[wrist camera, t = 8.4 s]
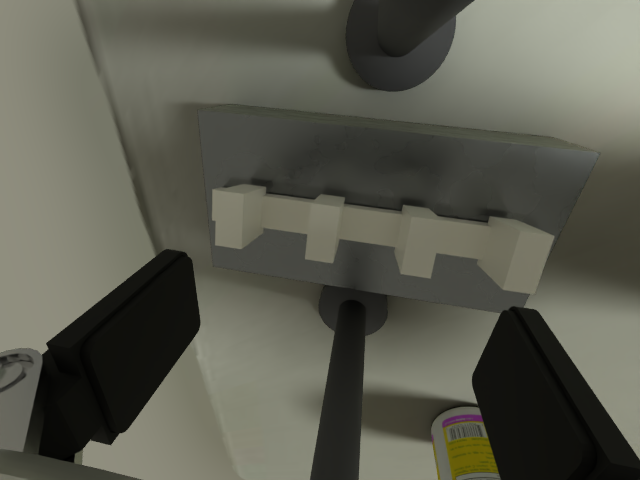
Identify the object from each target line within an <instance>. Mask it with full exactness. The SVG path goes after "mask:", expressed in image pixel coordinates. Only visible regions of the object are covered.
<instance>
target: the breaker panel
mask: <svg viewBox="0 0 640 480" xmlns="http://www.w3.org/2000/svg"><path fill="white" fill-rule="evenodd" d="M197 111H198V121H199V131H200V141H201V151H202V161H203V171H204V181H205V191H206V201H207V211H208V221H209V231H210V241H211V251H212V261H213V267H219V268H226V269H232V270H238V271H244V272H250V273H256V274H263V275H269V276H275V277H281V278H287V279H293V280H300V281H306V282H312V283H318V284H324V285H330V286H337V287H343V288H349V289H355V290H361V291H367V292H373V293H380V294H386V295H392V296H398V297H404V298H410V299H417V300H423V301H429V302H435V303H441V304H447V305H454V306H460V307H466V308H472V309H478V310H484V311H491V312H497V313H502V311H503V310H508V309H509V308H510V307H512V306H516V307H522V308H523V307H524V305H525V303H526V301H527V299H528V297H529V295H530V294H527V293H520V292H514V291H508V290H503V289H502V288H501V287H499V286H498V285H497V284H496V283H495V282H494V281H493V280H492V279H491V278H490V277H489V276H488V275H487V274H486V273H485V272H484V271H483V270H482V269H481V268H480V267H479V266H478V265H477V261H478V259H473V258H466V257H460V256H453V255H446V254H439V253H436V257H435V261H434V266H433V270H432V274H431V279H430V278H423V277H417V276H411V275H404V274H400V270H399V267H398V264H397V260H396V257H395V253H394V250H395V247H391V246H384V245H377V244H371V243H364V242H357V241H350V240H343V239H339V245H338V248H337V252H336V255H335V258H334V262H333V263H326V262H320V261H314V260H307V259H305V253H306V244H307V234H302V233H295V232H288V231H281V230H275V229H268V228H264V230H263V233H262V234H261V235H260V236H258V237H257V238H256V239H254V240H253V241H252V242H250V243H249V244H248V245H247V246H245V247H244V248H243V249H236V248H229V247H223V246H217V245H215V225H216V221H213V220H212V189H216V188H220V187H223V188H228V187H232V186H237V185H241V184H248V185H256V186H263V187H266V193H268V194H275V195H283V196H290V197H298V198H305V199H313V200H315V199H316V198H317V197H318V196H319V195H320V194H324V195H332V196H339V197H345V202H344V204H350V205H358V206H365V207H373V208H380V209H387V210H395V211H402V207H403V205H408V206H415V207H423V208H429V209H430V210H431V211H432V212H434V213H435V214H436V215H437V216H440V217H447V218H455V219H462V220H470V221H477V222H485V223H488V221H489V217H490V216H492V217H499V218H507V219H514V220H518V221H521V222H523V223H525V224H528V225H530V226H532V227H535V228H537V229H539V230H542V231H544V232H546V233H549V234H551V235H553V236H554V239H553V242H552V245H551V248H550V251H549V254H548V257H549V255H550V253H551V251H552V249H553V247H554V245H555V243H556V241H557V239H558V237H559V235H560V233H561V231H562V229H563V227H564V225H565V223H566V221H567V219H568V217H569V215H570V213H571V211H572V209H573V207H574V205H575V203H576V201H577V199H578V197H579V195H580V193H581V191H582V189H583V187H584V185H585V183H586V181H587V179H588V177H589V175H590V173H591V171H592V169H593V167H594V165H595V163H596V161H597V159H598V157H599V155H600V153H599V152H596V151H593V150H590V149H587V148H584V147H581V146H578V145H575V144H572V143H569V142H566V141H563V140H560V139H557V138H554V137H545V136H536V135H526V134H516V133H507V132H497V131H487V130H478V129H468V128H458V127H449V126H439V125H429V124H420V123H410V122H400V121H391V120H381V119H371V118H362V117H352V116H342V115H333V114H323V113H313V112H304V111H294V110H284V109H275V108H265V107H255V106H246V105H236V104H229V105H223V106H217V107H211V108H205V109H199V110H197ZM548 257H547V259H548ZM546 261H547V260H546Z"/></svg>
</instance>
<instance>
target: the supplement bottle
mask: <svg viewBox="0 0 640 480" xmlns="http://www.w3.org/2000/svg"><path fill="white" fill-rule="evenodd" d="M431 436H432V444H433V450H434V456H435V462H436V468H437V475H438V480H501V479H500V476H499V472H498V469H497V466H496V462H495V459H494V456H493V452H492V449H491V446H490V442H489V439H488V436H487V433H486V429H485V426H484V423H483V419H482V416H481V413H480V409H479V408H477V407H458V408H453V409H450V410H447V411H445V412H443V413H442V414H440V415H439V416H438V417H437V418H436V419H435V420H434V422H433V424H432V427H431Z"/></svg>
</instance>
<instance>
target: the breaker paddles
mask: <svg viewBox="0 0 640 480" xmlns="http://www.w3.org/2000/svg"><path fill="white" fill-rule="evenodd" d="M344 202H345V197H339V196H332V195H324V194H320V195H319V196H318V197H317V198H316V199H315V200H313V199H305V198H298V197H290V196H283V195H275V194H268V193H266V187H263V186H256V185H248V184H241V185H237V186H232V187H228V188H223V187H220V188H216V189H212V220H213V221H216V225H215V245H217V246H223V247H229V248H236V249H243V248H244V247H245V246H247V245H248V244H249V243H250V242H252V241H253V240H254V239H256V238H257V237H258V236H260V235H261V234H262V233H263V230H264V228H268V229H275V230H281V231H288V232H295V233H302V234H307V244H306V253H305V259H307V260H314V261H320V262H326V263H333V262H334V258H335V255H336V252H337V248H338V245H339V239H343V240H350V241H357V242H364V243H371V244H377V245H384V246H391V247H395V250H394V253H395V257H396V260H397V264H398V267H399V270H400V274H404V275H411V276H417V277H423V278H430V279H431V274H432V270H433V266H434V261H435V257H436V253H439V254H446V255H453V256H460V257H466V258H473V259H478V261H477V265H478V266H479V267H480V268H481V269H482V270H483V271H484V272H485V273H486V274H487V275H488V276H489V277H490V278H491V279H492V280H493V281H494V282H495V283H496V284H497V285H498V286H499V287H501V288H502V289H503V290H508V291H514V292H520V293H527V294H533V295H535V293H536V290H537V287H538V284H539V281H540V278H541V275H542V272H543V269H544V266H545V263H546V260H547V257H548V254H549V251H550V248H551V245H552V242H553V239H554V236H553V235H551V234H549V233H546V232H544V231H542V230H539V229H537V228H535V227H532V226H530V225H528V224H525V223H523V222H521V221H518V220H514V219H507V218H499V217H492V216H490V217H489V221H488V223H485V222H477V221H470V220H462V219H455V218H447V217H440V216H437V215H436V214H435V213H434V212H432V211H431V210H430V209H429V208H423V207H415V206H408V205H403V207H402V211H395V210H387V209H380V208H373V207H365V206H358V205H350V204H344Z"/></svg>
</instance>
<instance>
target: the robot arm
mask: <svg viewBox="0 0 640 480" xmlns="http://www.w3.org/2000/svg"><path fill="white" fill-rule="evenodd" d="M199 328H200V315H199V307H198V300H197V293H196V285H195V278H194V271H193V263H192V259H191V258H189V257H188V255H187V254H186V253H185V252H182V251H176V250H170V249H166V250H164V251H162V252H161V253H160V254H159V255H157V256H156V257H155V258H153V259H152V260H151V261H150V262H148V263H147V264H146V265H145V266H143V267H142V268H141V269H140V270H138V271H137V272H136V273H134V274H133V275H132V276H131V277H129V278H128V279H127V280H126V281H124V282H123V283H122V284H121V285H119V286H118V287H117V288H115V289H114V290H113V291H112V292H110V293H109V294H108V295H107V296H105V297H104V298H103V299H102V300H100V301H99V302H98V303H96V304H95V305H94V306H93V307H92V308H90V309H89V310H88V311H86V312H85V313H84V314H83V315H82V316H80V317H79V318H77V319H76V320H75V321H74V322H73V323H71V324H70V325H69V326H67V327H66V328H65V329H64V330H62V331H61V332H60V333H59V334H57V335H56V336H55V337H54V338H52V339H51V340H50V341H48V342H47V343H46V344H47V346H48V350H47V351H46V352H45V353H44V354H42V355H41V354H40V353H39V352H38V351H37V350H33V349H30V348H19V349H13V350H8V351H4V352H1V353H0V480H141V479H137V478H133V477H129V476H125V475H121V474H117V473H113V472H109V471H105V470H101V469H97V468H93V467H88V466H84V465H82V455H83V448H84V447H85V446H86V444H87V443H88V442H89V441H90V439H91V440H92V441H96V442H100V443H104V444H108V445H111V444H112V443H113V441H114V440H115V439H116V437H117V436H118V435H119V433H123V432H125V431H126V430H127V429H128V428H129V427H130V425H131V424H132V423H133V421H134V420H135V419H136V417H137V416H138V415H139V413H140V412H141V410H142V409H143V408H144V406H145V405H146V403H147V402H148V401H149V399H150V398H151V397H152V395H153V394H154V392H155V391H156V390H157V388H158V387H159V385H160V384H161V382H162V381H163V380H164V378H165V377H166V376H167V374H168V373H169V372H170V370H171V369H172V367H173V366H174V365H175V363H176V362H177V360H178V359H179V358H180V356H181V355H182V353H183V352H184V351H185V349H186V348H187V346H188V345H189V344H190V342H191V341H192V340H193V338H194V337H195V335H196V334H197V332H198V331H199ZM472 386H473V390H474V393H475V396H476V399H477V403H478V406H479V409H480V413H481V416H482V419H483V423H484V426H485V429H486V433H487V436H488V439H489V442H490V446H491V449H492V452H493V456H494V459H495V462H496V466H497V469H498V472H499V476H500V479H501V480H640V460H639V458H638V457H637V455H636V454H635V452H634V451H633V449H632V448H631V446H630V445H629V444H628V442H627V441H626V439H625V438H624V436H623V435H622V433H621V432H620V430H619V429H618V427H617V426H616V425H615V423H614V422H613V420H612V419H611V417H610V416H609V414H608V413H607V411H606V410H605V408H604V407H603V406H602V404H601V403H600V401H599V400H598V398H597V397H596V395H595V394H594V392H593V391H592V389H591V388H590V386H589V385H588V384H587V382H586V381H585V379H584V378H583V376H582V375H581V373H580V372H579V370H578V369H577V367H576V366H575V365H574V363H573V362H572V360H571V359H570V357H569V356H568V354H567V353H566V351H565V350H564V348H563V347H562V346H561V344H560V343H559V341H558V340H557V338H556V337H555V335H554V334H553V332H552V331H551V329H550V328H549V326H548V325H547V324H546V322H545V321H544V319H543V318H542V316H541V315H540V313H539V312H538V311H537V310H534V309H528V308H522V307H516V306H512V307H510V308H509V309H508V310H503V311H502V313H501V314H500V316H499V319H498V321H497V323H496V325H495V327H494V329H493V332H492V334H491V336H490V338H489V340H488V342H487V345H486V347H485V349H484V351H483V353H482V355H481V358H480V360H479V362H478V364H477V366H476V368H475V371H474V373H473V376H472Z"/></svg>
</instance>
